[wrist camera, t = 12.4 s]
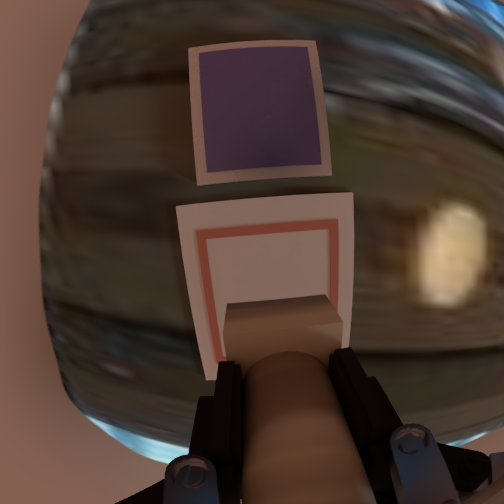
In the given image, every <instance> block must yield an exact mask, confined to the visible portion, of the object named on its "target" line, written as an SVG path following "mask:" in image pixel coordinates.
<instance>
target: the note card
mask: <svg viewBox="0 0 504 504" xmlns="http://www.w3.org/2000/svg"><path fill="white" fill-rule="evenodd" d="M176 212H177V220H178V227H179V235H180V242H181V249H182V256H183V263H184V269H185V275H186V281H187V287H188V293H189V299H190V304H191V310H192V315H193V320H194V326H195V331H196V336H197V340H198V345H199V350H200V355H201V359H202V364H203V368H204V373H205V377H206V380H216V378H217V370H218V363H219V361H227V359H226V353H225V346H224V340H223V328H224V321H225V314H226V307H227V303H239V302H252V301H263V300H274V299H285V298H295V297H304V296H313V295H322V294H326V296H327V297H328V299H329V300H330V302H331V303H332V305H333V306H334V308H335V310H336V311H337V313H338V314H339V316H340V317H341V319H342V320H343V334H342V346H341V348H347V347H349V338H350V326H351V313H352V296H353V272H354V206H353V192H343V193H320V194H302V195H286V196H272V197H259V198H247V199H236V200H225V201H215V202H205V203H196V204H188V205H179V206H176Z"/></svg>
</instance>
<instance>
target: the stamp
mask: <svg viewBox="0 0 504 504" xmlns="http://www.w3.org/2000/svg"><path fill="white" fill-rule="evenodd" d="M342 334H343V320H342V319H341V317H340V316H339V314H338V313H337V311H336V310H335V308H334V306H333V305H332V303H331V302H330V300H329V299H328V297H327V296H326V294H322V295H313V296H304V297H295V298H285V299H274V300H263V301H252V302H239V303H227V307H226V314H225V321H224V328H223V340H224V346H225V353H226V359H227V361H235V364H241V371H242V378H243V468H242V504H377V503H376V500H375V497H374V494H373V491H372V488H371V486H370V483H369V480H368V477H367V474H366V472H365V469H364V466H363V463H362V461H361V458H360V455H359V452H358V450H357V447H356V444H355V442H354V439H353V436H352V434H351V431H350V428H349V426H348V423H347V420H346V418H345V415H344V412H343V410H342V407H341V405H340V402H339V399H338V397H337V394H336V392H335V389H334V387H333V384H332V382H331V379H330V377H329V374H328V368H329V356H330V354H334V351H335V349H341V346H342Z"/></svg>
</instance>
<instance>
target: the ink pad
mask: <svg viewBox="0 0 504 504" xmlns="http://www.w3.org/2000/svg"><path fill="white" fill-rule="evenodd" d="M188 52H189V79H190V98H191V115H192V129H193V142H194V155H195V166H196V177H197V186H199V185H207V184H216V183H226V182H237V181H248V180H260V179H274V178H290V177H309V176H332V169H331V156H330V144H329V134H328V124H327V115H326V107H325V99H324V92H323V84H322V78H321V71H320V65H319V59H318V53H317V47H316V42H315V41H306V40H262V41H244V42H232V43H222V44H214V45H206V46H199V47H193V48H188Z"/></svg>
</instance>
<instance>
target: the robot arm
mask: <svg viewBox="0 0 504 504" xmlns="http://www.w3.org/2000/svg"><path fill="white" fill-rule="evenodd" d="M492 1H493V2H495V3H497V4H499V5H502V6H504V0H492ZM328 374H329V377H330V379H331V382H332V384H333V387H334V389H335V392H336V394H337V397H338V399H339V402H340V405H341V407H342V410H343V412H344V415H345V418H346V420H347V423H348V426H349V428H350V431H351V434H352V436H353V439H354V442H355V444H356V447H357V450H358V452H359V455H360V458H361V461H362V463H363V466H364V469H365V472H366V474H367V477H368V480H369V483H370V486H371V488H372V491H373V494H374V497H375V500H376V503H377V504H504V452H497V453H491V454H490V456H486V455H485V454H484V453H482V452H479V451H474V450H469V449H464V448H459V447H454V446H450V445H445V444H441V443H437V442H436V440H435V438H434V436H433V434H432V432H431V431H430V430H429V429H428V428H427V427H425V426H423V425H420V424H415V423H411V424H405V425H403V424H402V422H401V420H400V418H399V416H398V415H397V413H396V411H395V409H394V408H393V406H392V404H391V403H390V401H389V399H388V397H387V396H386V394H385V392H384V391H383V389H382V387H381V386H380V384H379V382H378V380H377V379H376V378H375V377H373V376H372V377H367V375H366V373H365V372H364V370H363V368H362V366H361V365H360V363H359V361H358V359H357V358H356V356H355V354H354V352H353V351H352V349H351V348H350V347H347V348H341V349H335V351H334V354H330V356H329V368H328ZM242 468H243V378H242V371H241V364H235V361H219V363H218V370H217V378H216V385H215V393H214V396H200V397H199V400H198V404H197V410H196V415H195V420H194V426H193V431H192V436H191V442H190V447H189V453H188V455H182V456H180V457H177V458H175V459H174V460H172V461H171V462H170V463H169V465H168V466H167V467H166V471H165V479H163V480H161V481H159V482H157V483H155V484H154V485H152V486H150V487H148V488H146V489H144V490H142V491H140V492H138V493H136V494H134V495H132V496H130V497H128V498H126V499H124V500H121V501H119V502H117V503H115V504H240V499H242Z"/></svg>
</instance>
